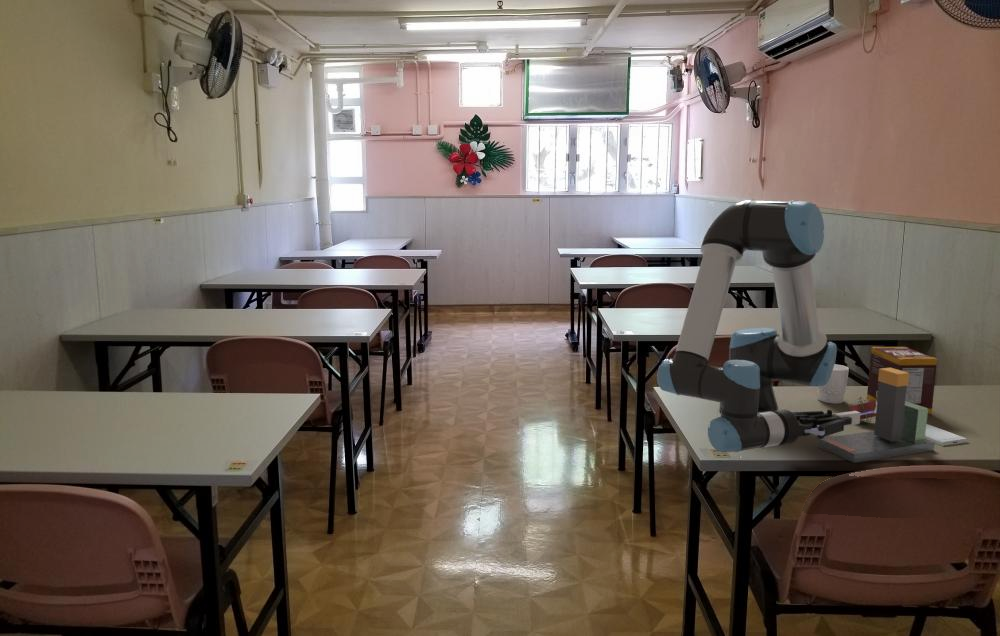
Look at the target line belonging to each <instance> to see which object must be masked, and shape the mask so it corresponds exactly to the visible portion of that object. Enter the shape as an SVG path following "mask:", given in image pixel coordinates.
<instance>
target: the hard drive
mask: <svg viewBox="0 0 1000 636" xmlns="http://www.w3.org/2000/svg"><path fill="white" fill-rule="evenodd" d="M925 439H927V440H930V441H932V442H935V444H936V445H939V446H941V447H942V446H943V447H945V446H951V445H958V444H959V445H960V444H966V443H968V442H969V439H968V438H966V437H964V436H961V435H958V434H955V433H953V432H950V431H947V430H945V429H942V428H939V427H936V426H934V425H931V424H928V423H926V432H925ZM944 445H945V446H944Z"/></svg>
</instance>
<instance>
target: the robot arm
mask: <svg viewBox="0 0 1000 636" xmlns="http://www.w3.org/2000/svg"><path fill="white" fill-rule="evenodd" d="M824 230H825V224H824V218H823V215H822V212H821V210H820V208H819V207H818V205H816V204H815V203H813V202H811V201H805V200H804V201H803V200H798V199H792V200H761V199H759V200H758V199H757V200H755V199H745V200H740V201H738V202H735V203H734V204H731V205H730V206H728V207H726V208H725V210H723V211H722V212H721V213H720V214H719V215H718V216H717V217H716V218H715V219H714V220H713V222H712V223H711V224H710V226H709V228H708V229H707V231H706V233H705V235H704V237H703V240H702V242H701V243H702V244H701V246H700V253H701V254H702V259H701V262H700V265H699V270H698V271H697V276H696V280H695V283H694V286H693V290H692V294H691V297H690V299H689V300H690V301H689V303H688V307H687V311H686V314H685V317H684V320H683V325H682V329H681V331H680V335H679V339H678V342H677V346H676V349H675V352H674V356H673V358H665V359H664V360H662V361H661V364H660V365H659V367H658V369H657V372H656V381H657V386H658V387H659V388H660V389H661V390H662V391H664V392H668V393H670V394H671V393H672V394H674V395H676V396H684V397H690V398H696V399H697V398H698V399H701V400H702V399H703V400H706V401H712V402H717V403H719V411H720V416H718V417H715V418H713V419H711V421H710V423H709V425H708V426H707V437H708V441H709V442H710V444H711V446H712V448H713V449H715V450H716V451H717V452H719V453H739V452H742V451H748V450H754V449H762V450H765V448H768V447H774V446H775V447H776V446H784V445H790V444H793V443H795V442H796V441H797V440H798V439H799V438H800V437H806V436H811V435H815V436H816V438H817V439H818V440H819V439H823V438H826V437H829V436H831V435H834V434H837V433H840V432H843V431H844V430H845V427H846V426H853V425H860V423H861V421H860V412H857V411H850V410H849V411H844V412H842V411H841V412H835V413H833V409H832V410H831V409H827V411H826V413H825V412H824V411H821V410H818V411H816V410H815V411H813V410H812V411H790V410H788V409H781V410H780V409H779V405H778V402H777V398H776V395H775V390H774V387H773V386H774V380H776V381H782V382H788V383H791V384H792V383H794V384H799V385H805V386H809V387H812V386H813V387H814V386H815V387H818V386H824V385H826V384H827V383H828V381H829V379H830V377H831V374H832V371H833V367H834V364H836V358H837V353H838V350H837V349H838V347H837V344H836V343H834V342H833V341H828V339H827V337H828V336H827V334H826V333H825V331H824V330H822V329H821V328H820V327H819V320H818V319H819V318H818V311H817V302H816V294H815V284H814V279H813V269H812V261H813V260H814V259H815V258H816V255H817V253H820V251H821V249H822V247H823V244H824V239H825V233H824ZM746 251H755V252H761V253H762V257H763V260H764V262H765V264H766V265H768V266H769V267H771V270H772V277H773V283H774V291H775V295H776V301H777V309H778V314H779V320H780V326H781V333H780V334H779V335H778V332H777V329H776V328H772V327H751V328H742V329H739V330H736V331H734V332H732V334H731V337H730V343H729V346H728V349H729V355H728V360H726V361H725V362H724V363H723V367H721V366H720V367H719V366H714V365H708V363H709V359H710V356H711V352H712V349H713V345H714V341H715V337H716V336H717V335H716V334H717V331H718V328H719V323H720V320H721V316H722V313H723V309H724V306H725V302H726V299H727V296H728V292H729V290H730V289H729V288H730V285H731V281H732V278H733V275H734V272H735V267H736V264H737V263H740V262H741V261H742V259H743V256H744V253H745V252H746Z"/></svg>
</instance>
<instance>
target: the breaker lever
mask: <svg viewBox="0 0 1000 636" xmlns="http://www.w3.org/2000/svg"><path fill="white" fill-rule="evenodd" d="M878 381H879V390H878V400H877V410H876V416H875V417H876V418H875V419H876V420H875V419H874V421H875V423H874V430H873V431H874V435H876V436H879V437H881V438H884V439H886V440H889V441H897V440H901V435H902V425H903V416H904V406H905V397H906V388H907V386H908V382H909V373H908V372H904V371H901V370H897V369H894V368H881V369H879V376H878Z"/></svg>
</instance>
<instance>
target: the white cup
mask: <svg viewBox="0 0 1000 636" xmlns="http://www.w3.org/2000/svg"><path fill="white" fill-rule="evenodd" d="M849 370H850V369H849V367H848V366H846V365H841V364H836V363H834V367H833V371H832V374H831V377H830V379H829V381H828V383H827V384H826V385H824V386H817V387H818V388H817V391H818V392H817V393H818V394H817V395H818V397H817V400H819V401H821V402H822V403H827V404H834V405H835V404H836V405H837V404H843V403H844V401H845V394H846V389H847V384H848V376H849Z"/></svg>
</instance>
